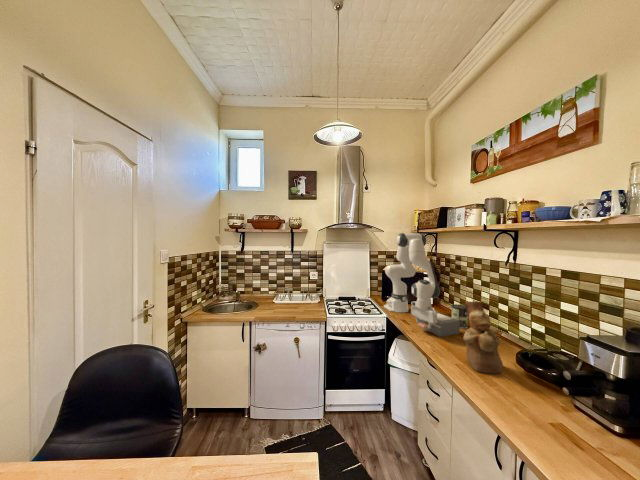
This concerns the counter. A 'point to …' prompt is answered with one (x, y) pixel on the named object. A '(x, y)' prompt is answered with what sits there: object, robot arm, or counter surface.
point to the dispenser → (444, 325)
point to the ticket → (424, 324)
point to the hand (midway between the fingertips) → (423, 325)
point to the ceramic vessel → (481, 341)
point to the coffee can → (460, 315)
